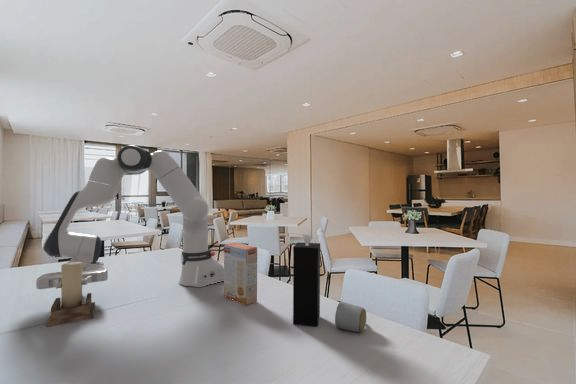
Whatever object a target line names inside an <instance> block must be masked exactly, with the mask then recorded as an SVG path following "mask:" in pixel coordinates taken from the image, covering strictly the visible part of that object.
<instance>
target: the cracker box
mask: <svg viewBox="0 0 576 384" xmlns="http://www.w3.org/2000/svg"><path fill="white" fill-rule="evenodd" d="M223 249H224V250H223V257H224V258H223V260H224V261H223V267H224V282H223V297H225V296H226V297H225V298H227V297H228V299H230V298H231V299H230V300H232V299H233V300H232V301H234V300H235V302H237V301H238V302H237V303H239V302H240V304H241V303H242V305H243V304H244V306H249V305H251V304H253V303H256V301H258V247H256V246H253V245H247V244H242V243H237V242H232V243H225V244H224V245H223Z"/></svg>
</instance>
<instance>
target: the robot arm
mask: <svg viewBox="0 0 576 384" xmlns="http://www.w3.org/2000/svg"><path fill="white" fill-rule="evenodd" d="M146 171H148V172H150V173H152V175H153V177H155V178H156V181H158V183H159V184H160V186H162V187H163V189H164V190H165V191H166V193H167V194H168V195H169V197H170V198H171V200H172V201H173V203H174V205H176V207H177V209H178V210H179V211H180V213H181V214H182V251H181V257H180V261H181V273H180V278H179V281H178V283H179V285H181V286H185V287H195V288H202V287H203V288H204V287H206V285H208V286H210V285H209V284H212V285H215V284H214V283H216V284H218V283H217V282H220V283H222V282H221V281H224V264H222V263H221V262H219V261H218V260H217V259H216V258H214V257H215V255H216V252H215V251H214V250H213V251H212V250H210V249H209V230H208V229H209V227H208V225H209V224H208V223H209V222H208V219H209V218H208V214H209V204H208V202H207V201H206V200H205V198H204V197H203V196H202V195H201V193H200V192H199V190H198V189H197V187H195V185H194V184H193V183H192V181H191V180H190V178H189V177H188V176H187V174H186V173H185V172H184V170H183V169H182V168H181V166H180V165H179V164H178V163H177V161H176V160H175V159H174V158H173V157H172V156H171V155H170V154H169V153H168V152H167V151H166V150H156V151H154V152H150V151H148V150H146V149H144V148H142V147H141V146H137V145H133V144H132V145H125V146H123V147H122V148H120V150H119V151H118V152H117V156H116V158H115V157H114V158H113V157H109V156H108V157H107V156H106V157H105V156H104V157H101V158H99V159H98V160H97V161H96V163H95V165H93V168H92V170H91V172H90V174H89V177H88V181H87V184H86V185H85V187H83V188H82V189H81V190H79V191H75V192H74V193H73V195H71V197H70V199H69V200H68V202H67V204H66V205H65V207H64V209H63V210H62V213H61V215H60V216H59V219H57V221H56V223H55V225H54V227H53V229H52V231H51V232H50V233H49V234H48V236H46V238H45V240H44V242H43V247H42V248H43V251H44V252H45V254H47V255H48V257H52V258H53V257H55V258H58V257H60V258H61V257H63V258H71V259H70V260H69V261H68V262H67V263H71V262H82V286H84V285H88V284H92V283H98V282H99V283H101V282H105V281H107V280H108V276H109V274H108V273H109V271H108V268H107V266H106V265H105V263H104V262H98V261H99V258H100V256H101V252H102V248H103V241H102V239H101V238H100V237H99V236H98V235H96V234H95V235H94V234H89V233H80V232H74V231H73V232H72V231H69V230H68V227H69V226H70V224H71V222H72V221H73V219H74V217H75V215H76V213H77V212H78V211H79V210H81V209H84V208H88V207H96V206H104V205H106V204H110V203H111V202H113V201H114V200H115V199H116V197H117V194H118V192H119V189H120V185H121V181H122V180H123V177H124V176H128V175H130V176H132V175H135V176H136V175H141V174H143V173H145V172H146ZM35 282H36V283H35V285H36V287H35V288H36V290H45V289H53V288H55V289H60V288H61V271H58V272H55V271H54V272H48V273H44V274H42V275H40V276H39V277H37V278H36V281H35Z"/></svg>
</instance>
